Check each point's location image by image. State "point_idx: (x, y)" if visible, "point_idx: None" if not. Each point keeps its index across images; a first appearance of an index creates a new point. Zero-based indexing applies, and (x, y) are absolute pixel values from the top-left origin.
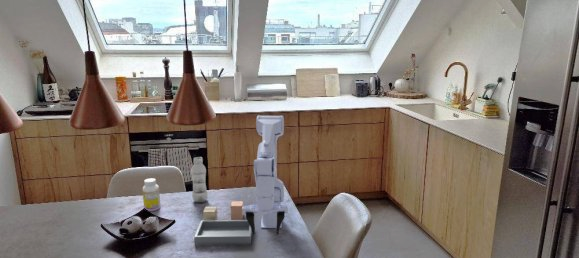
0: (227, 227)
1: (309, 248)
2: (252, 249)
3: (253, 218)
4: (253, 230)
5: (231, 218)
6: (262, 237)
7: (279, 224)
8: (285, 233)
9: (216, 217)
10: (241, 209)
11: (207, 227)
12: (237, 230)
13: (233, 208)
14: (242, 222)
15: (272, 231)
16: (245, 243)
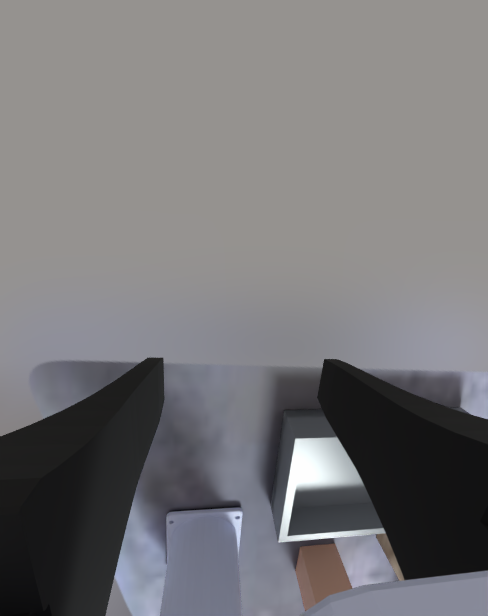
0: (356, 501)
1: (46, 387)
2: (278, 384)
3: (475, 466)
4: (352, 372)
5: (336, 548)
6: (238, 455)
7: (88, 406)
8: (152, 481)
9: (390, 548)
10: (316, 597)
11: None
12: (325, 487)
13: None
14: (313, 526)
15: (201, 490)
16: (303, 414)
